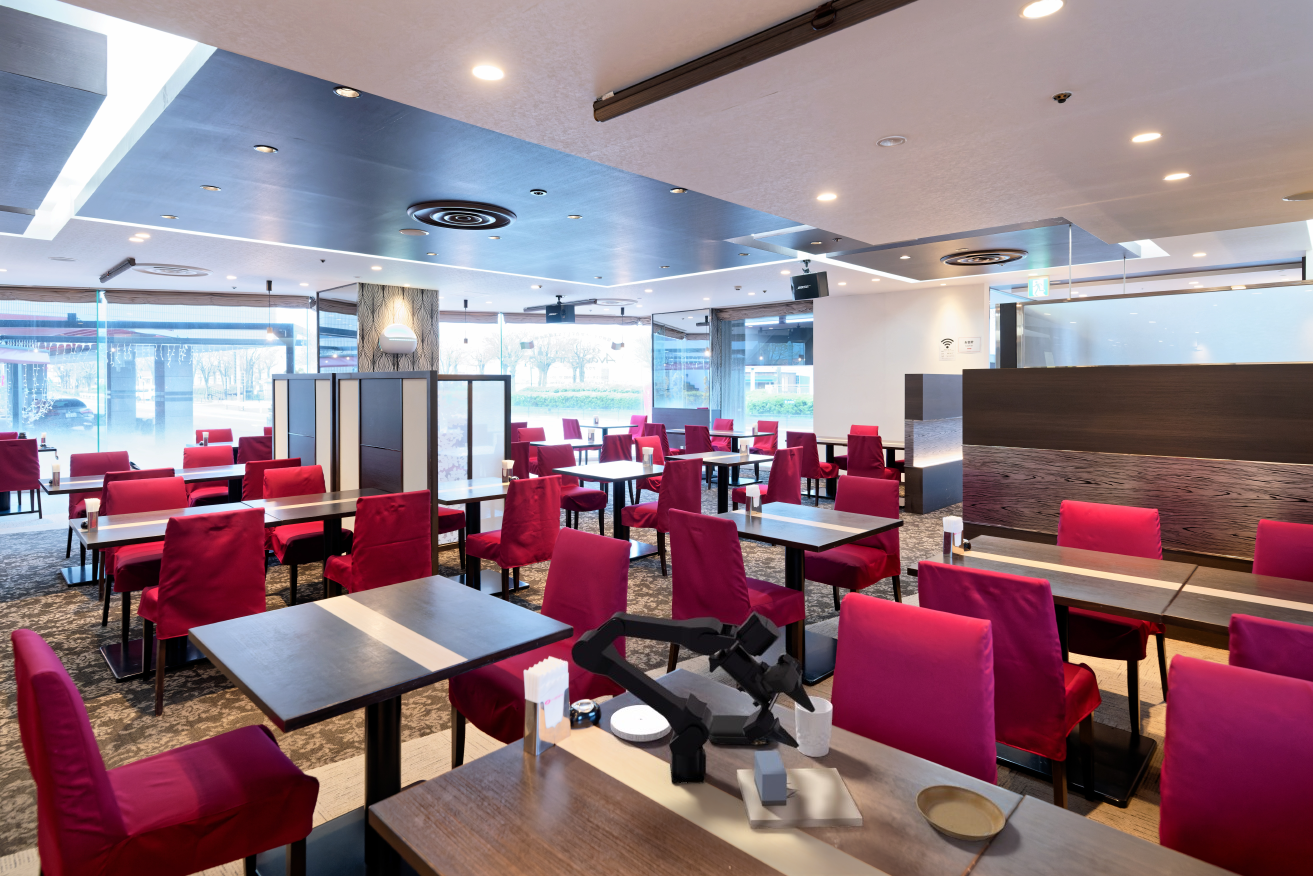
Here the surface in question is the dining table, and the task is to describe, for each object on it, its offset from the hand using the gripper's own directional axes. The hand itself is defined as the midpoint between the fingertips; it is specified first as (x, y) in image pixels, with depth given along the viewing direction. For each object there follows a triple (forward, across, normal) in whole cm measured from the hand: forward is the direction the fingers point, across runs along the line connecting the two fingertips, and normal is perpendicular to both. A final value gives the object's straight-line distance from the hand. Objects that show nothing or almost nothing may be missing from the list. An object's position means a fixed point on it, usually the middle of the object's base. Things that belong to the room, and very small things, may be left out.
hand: (805, 728), depth 131 cm
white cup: (+10, +10, +15) cm, 20 cm away
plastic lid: (-19, -2, +38) cm, 42 cm away
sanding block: (+2, -10, +8) cm, 14 cm away
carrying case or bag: (-2, +6, +25) cm, 26 cm away
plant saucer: (+29, +1, -9) cm, 30 cm away
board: (+7, -8, +7) cm, 13 cm away
